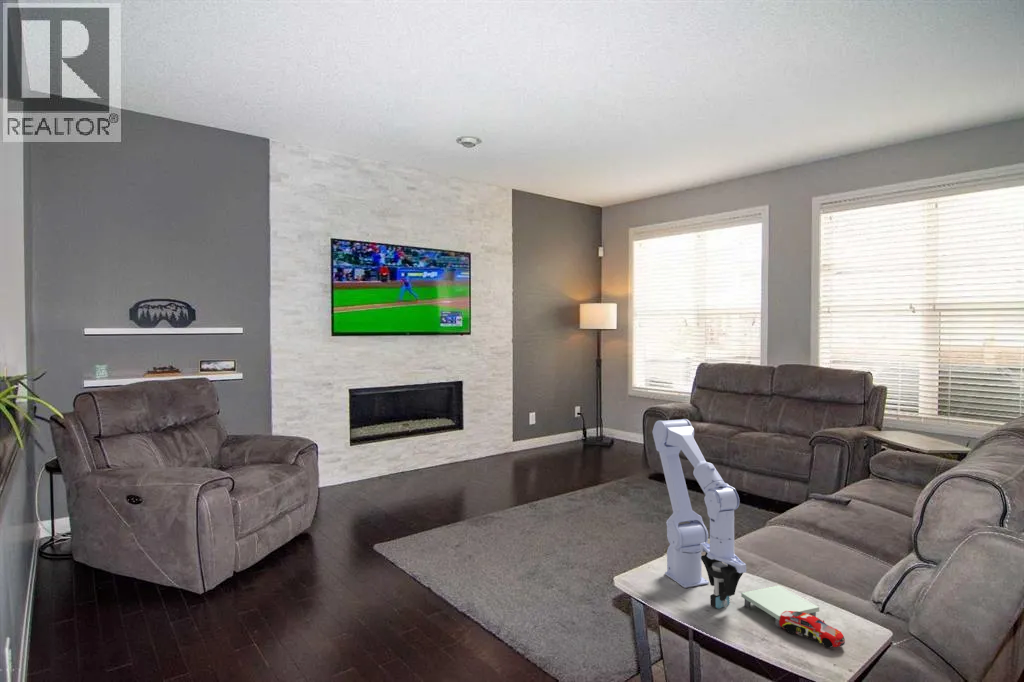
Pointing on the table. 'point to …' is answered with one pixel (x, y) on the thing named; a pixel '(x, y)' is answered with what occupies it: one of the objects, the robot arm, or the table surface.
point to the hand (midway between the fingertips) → (722, 589)
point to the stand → (778, 602)
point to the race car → (811, 628)
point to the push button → (718, 586)
